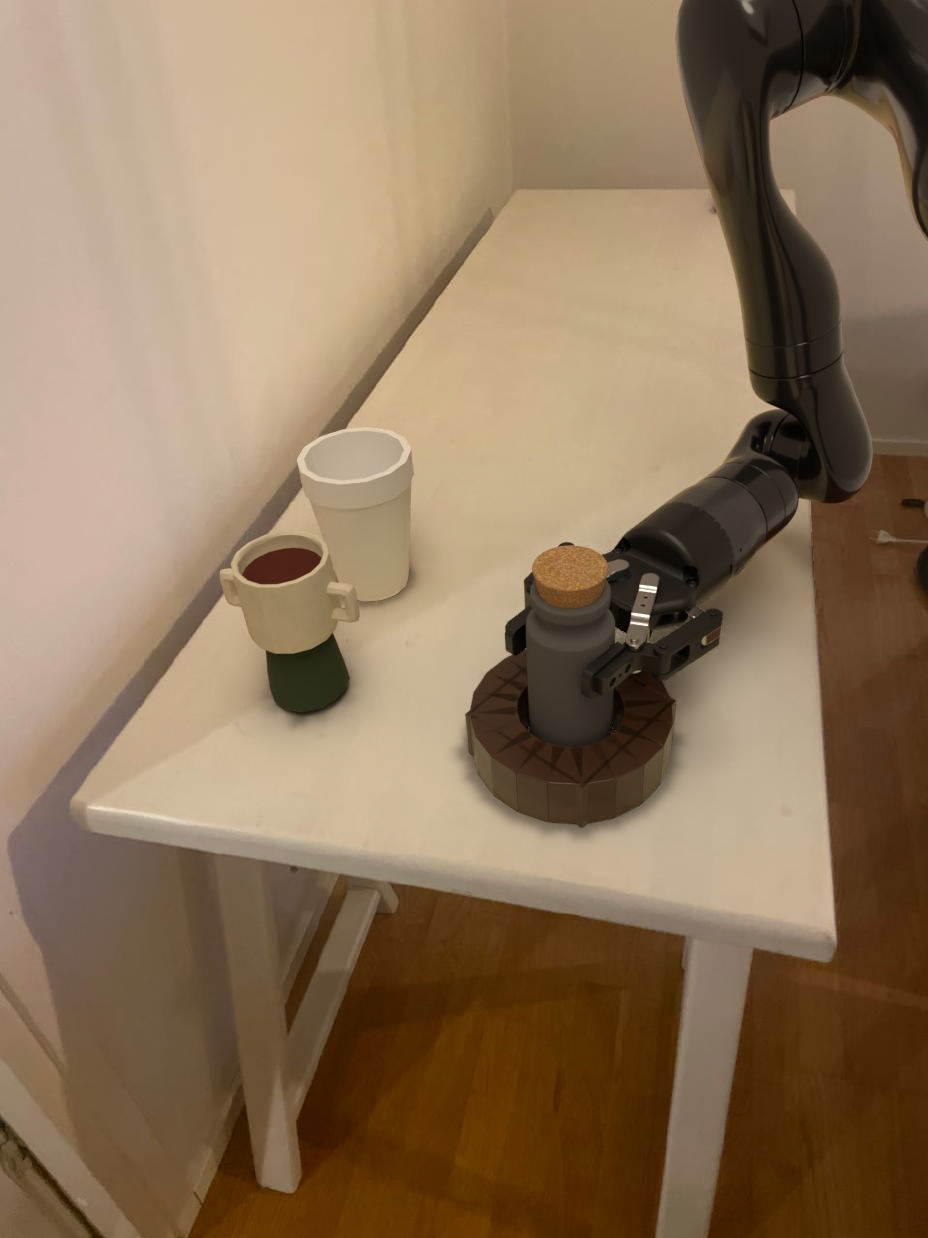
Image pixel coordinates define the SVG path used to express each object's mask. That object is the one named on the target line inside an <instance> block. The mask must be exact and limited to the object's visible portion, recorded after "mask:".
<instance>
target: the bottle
mask: <svg viewBox="0 0 928 1238" xmlns="http://www.w3.org/2000/svg"><path fill="white" fill-rule="evenodd" d="M558 546H559V545H558ZM558 546H555V547H552V548H549V549H547V550H545V551H543V552H542V553H540V554H538V555H537V557H536V558H535V559H534V561H533V563H532V566H531V572H533V576H534V579H535V580H534V582H533V583H532V586H531V588H530V602H531V606H532V608H533V609H532V610H531V611H530V612H529V614H528V616H527V620H526V653H527V677H528V701H529V720H530V724H529V733H531V734H532V735H534V736H535V737H537V738H539V739H540V740H542V741H544V742H547V743H551V744H554V745H557V746H568V747H578V746H584V745H589V744H594V743H597V742H599V741H601V740H603V739H605V738H607V737H609V736H610V735H611V734H612V729H613V726H612V710H613V690H612V691H611V692H610V693H608V694H605V695H603V696H601V695H599V694H598V695H597V696H596V697H595V698H593V699H590V698H588V697H586V696H584V695H583V694H581V676H582V673H583V671H584V670H585V668H587V667H588V666H589V665H590V664H591V663H592V662H594V661H595V660H596V659H597V658H598V657H600V656H601V655H602V654H603V653H604V652H606V651H607V650H608V649H609V648H610V647H611V646H612V645H614V644H615V643H616V627H615V619H614V616H613V614H612V612H611V611H610V610H609V606H610V602H611V589H610V585H609V583H608V582H607V580H606V577H607V574H608V564H607V561H606V559H605V558H604V557H603V556H602V554H601V553H600V552H598V551H596V550H595V549H592V548H590V547H587V546H582V545H575V544H574V545H568V546H559V547H558Z"/></svg>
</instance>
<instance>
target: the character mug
mask: <svg viewBox="0 0 928 1238" xmlns="http://www.w3.org/2000/svg"><path fill="white" fill-rule="evenodd" d="M219 582H220V586H221V588H222V592H223V595H224V599H225V601H226V602H227V604H228V605H230V606H233V607H239V608H241V611H242V613H243V618H244V623H245V625H246V628H247V632H248V635H249V637H250V638H251V640H252V641H253V642H254V643H255V644H256V646H258V647H259V648H260V649H262V650H264V651H265V658H266V660H265V661H266V670H267V678H268V686H269V690H270V694H271V697H272V699H273V701H274V702H275V703H276V704H277V705H279V706H280V707H282V708H283V710H285V711H292V712H298V713H306V712H311V711H315V710H320V709H322V708H324V707H325V706H327V705H329V704H330V703H332V702H334V701H336V700H337V699H338V698H339V696H340V695H342V693H343V692H344V691H346V689H347V688H348V684H349V681H350V673H349V672H348V668H347V665H346V662H345V659H344V657H343V654H342V651H341V649H340V647H339V646H340V645H339V644H338V641H337V639H336V637H335V634H334V632H335V630H336V629H337V626H338V623H339V622H344V623H350V624H351V623H355V622H359V621H360V616H361V615H360V608H359V600H357V595H356V590H355V589H354V587H353V586H352V585H350V584H346V583H339V582H338V579H337V576H336V573H335V571H334V568H333V565H332V560H331V556H330V554H329V551H328V548H327V545H326V542H324V540H323V538H321V537H320V536H319V535H317V534H315V533H312V532H310V531H306V530H301V529H300V530H299V529H298V530H297V529H289V530H279V531H275V532H271V533H268V534H267V533H266V534H264V535H261V536H259V537H257V538H255V539H252V540H251V541H249V542H247V543H246V544H245V545H244V546H242V547H241V548H240V549H238V550H237V551H236V552H235V553H234V556H233V558H232V560H231V562H230V567H227V568H223V569H220V570H219ZM341 598H343V602H344V607H342V601H341Z"/></svg>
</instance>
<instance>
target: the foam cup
mask: <svg viewBox="0 0 928 1238" xmlns="http://www.w3.org/2000/svg"><path fill="white" fill-rule="evenodd" d="M412 452H413V451H412V448H411V446H410V444H409V442H408V441H407V439H406V437H404V436H403V435H401V434H398V433H396V432H395V431H392V430H391V429H385V428H378V427H377V428H376V427H371V426H365V427H354V428H352V427H351V428H343V429H340V430H337V431H333V432H330V433H326V434H323V435H321V436H319V437H317V438H316V439H314V440H312V441H311V442H310V443H308V444H307V445H305V446H303V448H302V450H301V452H300V453H299V455H298V457H297V458H296V464H297V468H298V473H299V478H300V484H301V487H302V490H303V492H304V493H303V494H304V495H305V498H307V499H308V500H309V503H310V505H311V508H312V509H311V510H312V512H313V515H314V517H315V520H316V522H317V523H316V524H317V525H318V526H317V527H318V528H319V531H320V535H321V537H322V540H323V541H324V542H326V545H327V548H328V551H329V554H330V556H331V560H332V565H333V569H334V572H335V575H336V580H337V582H339V583H346V584H350V585H352V586H353V587H354V589H355V590H356V595H357V601H361V602H366V603H367V602H379V601H383V600H386V599H388V598H392V597H394V596H396V595H397V594H399V593H400V592H401V591H402V590H403V589H405V588H406V586H407V583H408V580H409V577H410V576H409V572H410V556H411V555H410V551H411V549H410V547H411V517H412V516H411V515H412V514H411V513H412V512H411V511H412V482H413V481H412V480H413V477H414V475H415V471H414V461H413V454H412Z"/></svg>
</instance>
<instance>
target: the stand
mask: <svg viewBox="0 0 928 1238" xmlns="http://www.w3.org/2000/svg"><path fill="white" fill-rule="evenodd" d="M676 708H677V700H676V699H675V698H672V697H671V695H670V694H669V692H668V689H667V688H666V686H665V683H664V682H663V681H661V680H657V679H655V678H653V676H652V673H651V672H647V671H640V672H639V673H635V674H630V675H629V676H628V677H627V678H625V679H624V680H623V681H622V682H621V683H620V684H618V686H616V687H615V688H614V689H613V710H612V728H613V729H614V731H613V732H611V735H610V736H609V737H607V738H605V739H603V740H601V741H599V742H597V743H594V744H589V745H584V746H578V747H568V746H557V745H554V744H551V743H547V742H544V741H542V740H540V739H539V738H537V737H535V736H534V735H532V734H531V733H530V731H529V730H528V729H527V727H528V726H530V720H529V701H528V677H527V653H526V649H525V650H524V651H522V652H521V653H520V654H518V655H517V656H514V655H512V654H510V655H508V656H506V657H505V658H503V659H502V660H500V661H499V662H498V663H497V664H496V665H494V666H493V667H491V668H490V669H489V670H488V671H487V672H486V673H485V674H484V675H483V677H482V679H480V681H479V682H478V684H477V686H476V688H475V689H474V691H473V693H472V697H471V703H470V708H469V710H468V711H467V712H465V714H464V717H465V728H466V737H467V748H468V753H469V754H471V755H472V756H473V759H474V763H475V766H476V767H475V768H476V770H477V774H478V776H479V777H480V778H481V780H482V781H483V783H484V784H485V785H486V787H487V788H488V789H489V791H490V792H491V793H492V795H493V796H494V797H496V799H498V800H500V801H502V802H503V803H505V805H507V806H509V807H510V808H512V809H513V810H514V811H516V812H517V813H521V814H524V815H527V816H529V817H531V818H532V817H533V818H536V819H539V820H542V821H544V822H549V823H558V824H576V825H577V826H579V827H580V828H582V829H583V828H584V827H585V826H586V825H587V824H590V823H591V824H592V823H597V822H601V821H607V820H611V819H614V818H617V817H619V816H621V815H623V814H625V813H626V812H628V811H631V810H632V809H635V808H636V807H639V806H641V805H642V804H643V803H644V802H645V801H646V800H647V799H648V798H649V797H650V796H651V795H652V794H653V793H654V792H655V791H656V790H657V789H658V788H659V787H660V786H661V784H662V782H663V779H664V778H665V774H666V772H667V769H668V768H669V765H670V762H671V761H670V759H671V750H672V741H673V739H674V730H675V728H674V727H675V719H676V710H677V709H676Z"/></svg>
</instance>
